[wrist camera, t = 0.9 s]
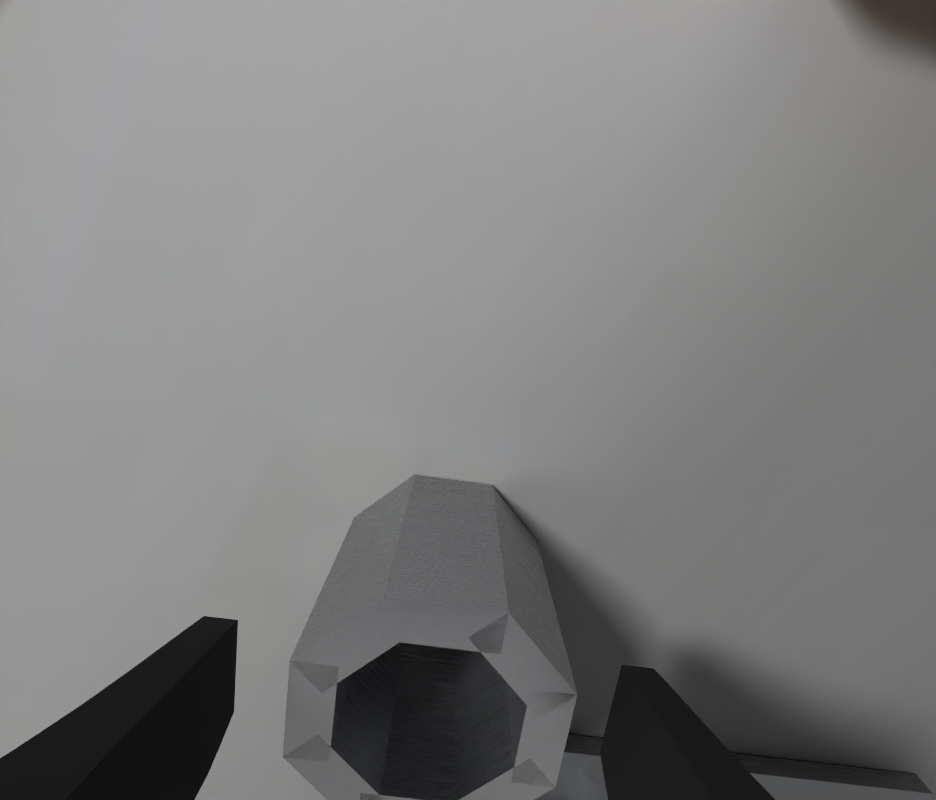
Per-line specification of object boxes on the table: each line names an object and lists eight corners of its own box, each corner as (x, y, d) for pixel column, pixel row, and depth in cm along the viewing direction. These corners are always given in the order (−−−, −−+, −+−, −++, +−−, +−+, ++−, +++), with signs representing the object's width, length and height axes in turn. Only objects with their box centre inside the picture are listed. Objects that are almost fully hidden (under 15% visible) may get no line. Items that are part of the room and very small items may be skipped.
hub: (546, 492, 13) (594, 622, 8) (515, 650, 14) (541, 847, 9) (359, 467, 13) (295, 585, 8) (342, 630, 14) (278, 819, 9)
